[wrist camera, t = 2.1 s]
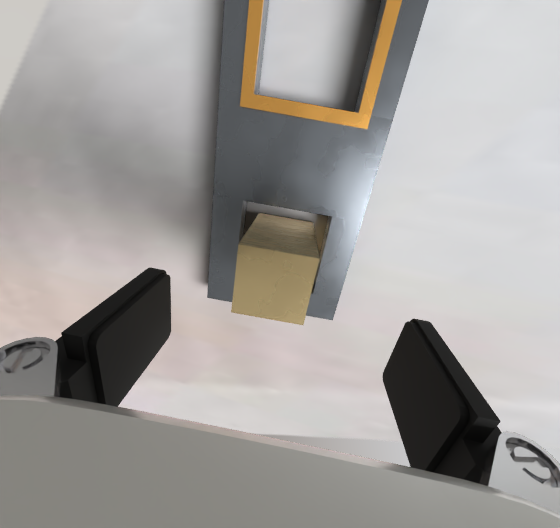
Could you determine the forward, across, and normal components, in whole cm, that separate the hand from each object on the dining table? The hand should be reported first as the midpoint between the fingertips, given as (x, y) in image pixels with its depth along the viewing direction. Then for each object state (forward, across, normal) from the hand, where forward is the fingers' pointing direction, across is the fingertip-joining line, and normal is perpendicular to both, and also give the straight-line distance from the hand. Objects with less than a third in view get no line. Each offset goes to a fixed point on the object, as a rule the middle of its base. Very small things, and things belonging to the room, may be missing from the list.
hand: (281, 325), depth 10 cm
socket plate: (+10, +1, -6) cm, 12 cm away
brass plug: (+10, +1, 0) cm, 10 cm away
